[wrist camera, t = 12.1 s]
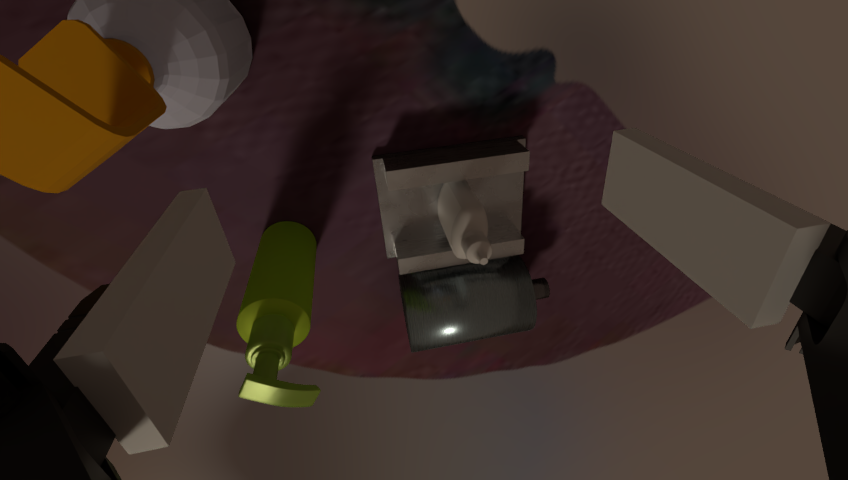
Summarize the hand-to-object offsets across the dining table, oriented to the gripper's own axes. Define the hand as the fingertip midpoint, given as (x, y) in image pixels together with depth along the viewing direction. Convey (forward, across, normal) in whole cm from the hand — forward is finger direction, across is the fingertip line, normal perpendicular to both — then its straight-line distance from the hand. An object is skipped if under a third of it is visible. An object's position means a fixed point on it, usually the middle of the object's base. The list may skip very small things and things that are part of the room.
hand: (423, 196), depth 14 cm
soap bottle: (+29, -14, +3) cm, 32 cm away
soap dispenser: (+29, -11, -18) cm, 36 cm away
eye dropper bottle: (+28, +7, -15) cm, 32 cm away
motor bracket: (+29, +8, -20) cm, 36 cm away
